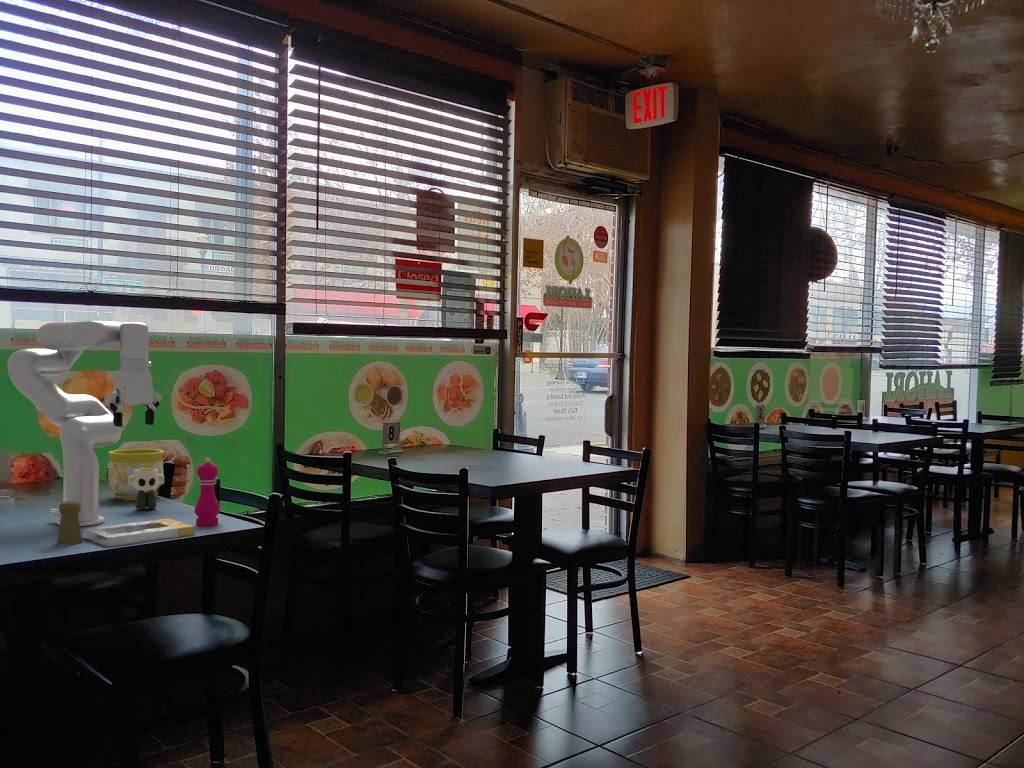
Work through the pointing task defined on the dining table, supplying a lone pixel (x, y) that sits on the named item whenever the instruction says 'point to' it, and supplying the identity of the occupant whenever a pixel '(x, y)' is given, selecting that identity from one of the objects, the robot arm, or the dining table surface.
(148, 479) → the character mug
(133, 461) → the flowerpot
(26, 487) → the dining table surface
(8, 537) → the dining table surface
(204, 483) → the pepper mill
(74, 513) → the brown shaker
